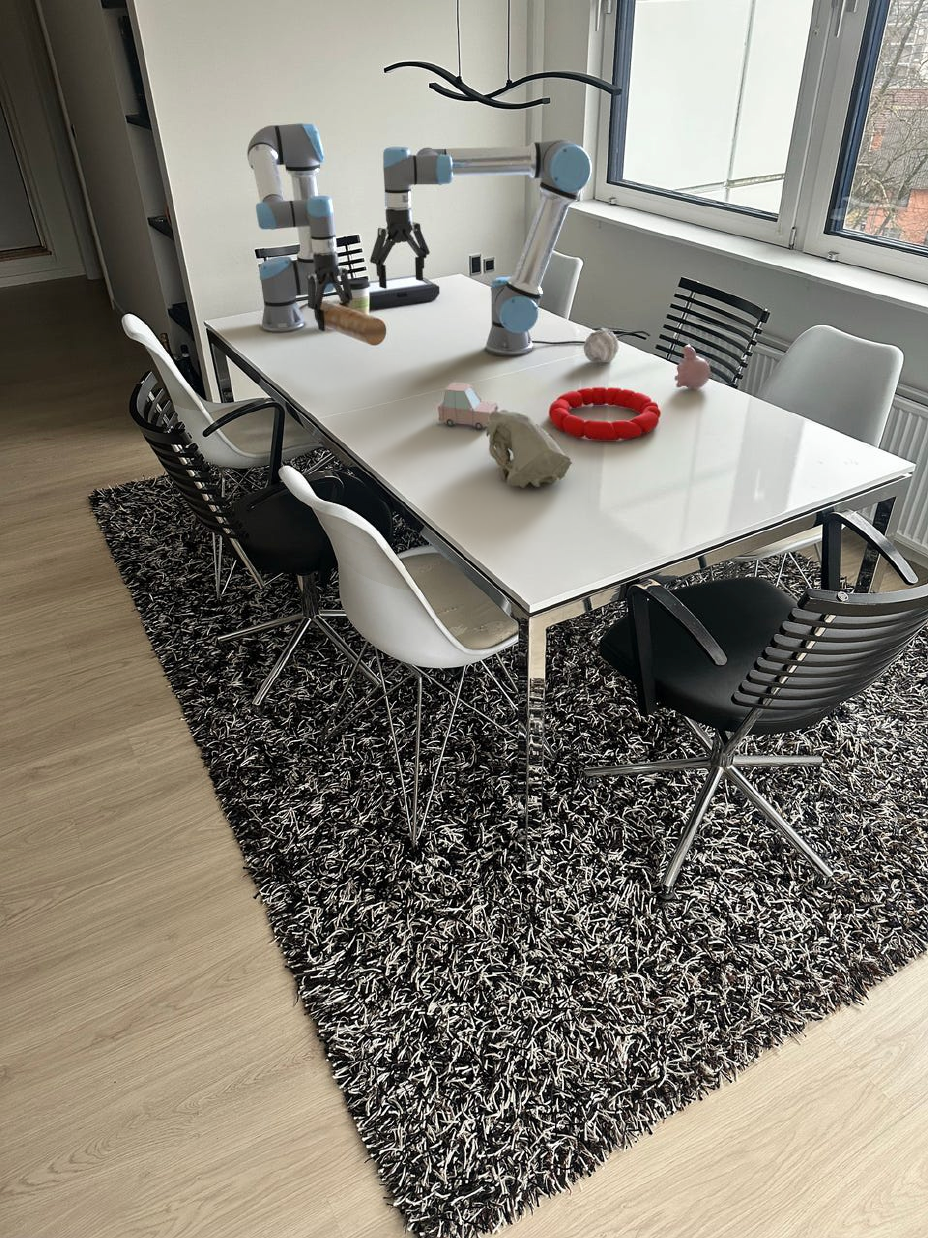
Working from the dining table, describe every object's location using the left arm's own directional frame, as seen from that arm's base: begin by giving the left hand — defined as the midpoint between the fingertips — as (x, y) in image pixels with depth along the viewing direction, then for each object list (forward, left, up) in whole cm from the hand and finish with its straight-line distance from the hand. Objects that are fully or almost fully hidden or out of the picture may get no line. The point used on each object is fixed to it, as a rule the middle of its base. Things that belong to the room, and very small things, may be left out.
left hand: (333, 326), depth 285 cm
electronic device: (-69, +26, -11) cm, 74 cm away
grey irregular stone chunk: (+95, +40, -11) cm, 103 cm away
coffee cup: (-41, +11, -11) cm, 44 cm away
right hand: (+13, +22, +15) cm, 29 cm away
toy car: (+62, +32, -11) cm, 71 cm away
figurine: (+52, +101, -11) cm, 114 cm away
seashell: (+22, +83, -11) cm, 87 cm away
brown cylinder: (+9, +5, -1) cm, 10 cm away
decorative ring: (+70, +69, -11) cm, 99 cm away
